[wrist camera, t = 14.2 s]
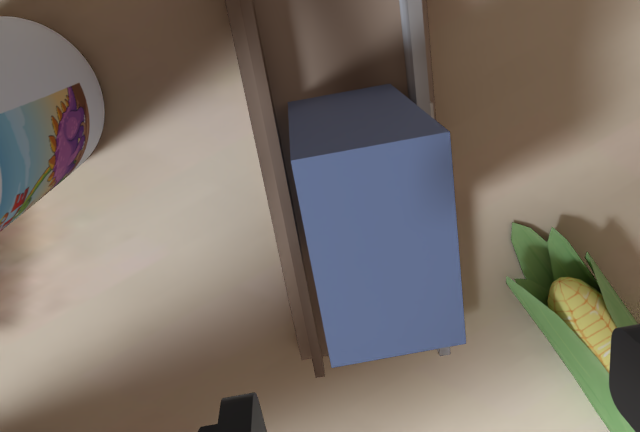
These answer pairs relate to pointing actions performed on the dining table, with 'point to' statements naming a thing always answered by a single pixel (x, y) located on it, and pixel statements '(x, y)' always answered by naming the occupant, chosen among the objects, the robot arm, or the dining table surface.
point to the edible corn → (572, 312)
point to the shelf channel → (313, 81)
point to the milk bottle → (42, 113)
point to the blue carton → (378, 223)
